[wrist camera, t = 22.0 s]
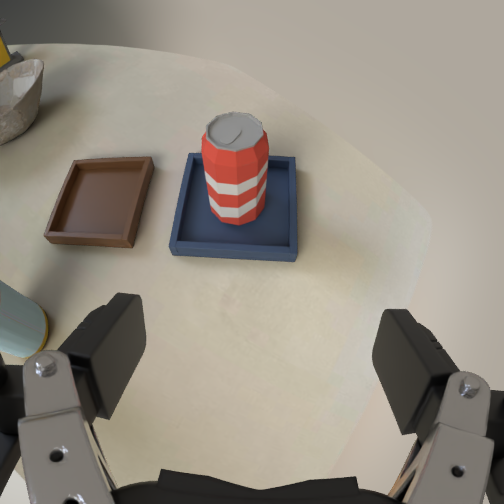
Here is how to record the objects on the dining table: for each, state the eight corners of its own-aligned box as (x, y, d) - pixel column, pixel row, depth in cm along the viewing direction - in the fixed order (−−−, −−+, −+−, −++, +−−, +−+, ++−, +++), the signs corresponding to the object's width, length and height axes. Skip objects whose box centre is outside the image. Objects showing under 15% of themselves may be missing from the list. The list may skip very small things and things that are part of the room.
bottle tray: (154, 166, 41) (151, 156, 39) (132, 248, 36) (127, 239, 34) (79, 169, 41) (73, 160, 39) (50, 243, 36) (43, 235, 34)
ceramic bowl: (12, 178, 41) (-17, 139, 32) (-39, 164, 44) (-61, 135, 35) (82, 92, 50) (66, 53, 41) (19, 93, 53) (4, 63, 44)
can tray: (293, 167, 41) (295, 157, 39) (294, 262, 35) (297, 253, 33) (190, 163, 41) (188, 152, 39) (172, 255, 35) (168, 247, 33)
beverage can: (200, 213, 37) (184, 139, 26) (230, 177, 40) (226, 101, 29) (245, 237, 36) (244, 165, 25) (273, 197, 38) (281, 121, 27)
